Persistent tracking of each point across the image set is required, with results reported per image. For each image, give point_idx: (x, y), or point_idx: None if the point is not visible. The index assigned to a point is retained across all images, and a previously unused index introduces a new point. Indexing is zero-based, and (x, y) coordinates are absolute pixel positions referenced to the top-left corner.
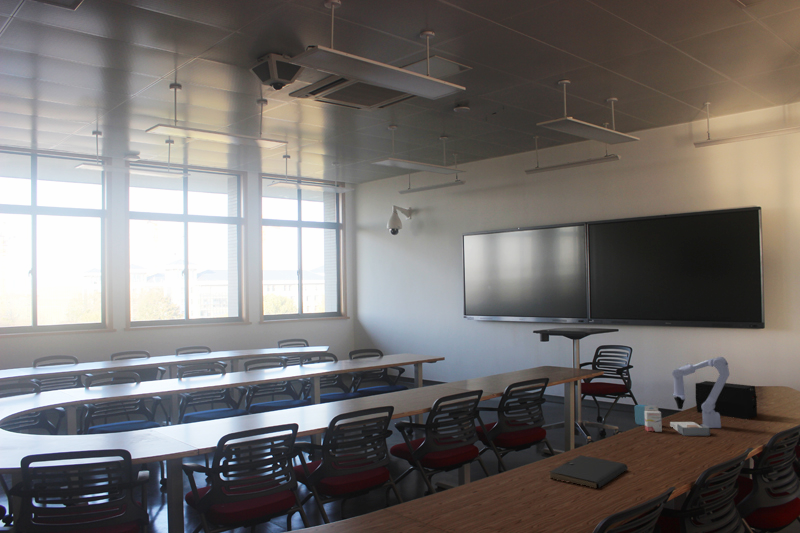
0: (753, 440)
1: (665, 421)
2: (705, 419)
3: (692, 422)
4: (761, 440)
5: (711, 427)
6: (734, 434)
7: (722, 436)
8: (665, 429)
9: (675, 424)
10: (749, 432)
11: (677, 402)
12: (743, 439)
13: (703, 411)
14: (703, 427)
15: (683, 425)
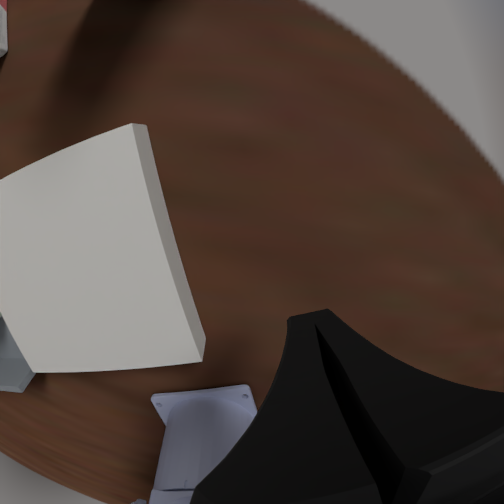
0: (24, 458)
1: (368, 103)
2: (166, 446)
3: (170, 349)
4: (40, 473)
5: (165, 423)
6: (73, 453)
7: (9, 401)
8: (17, 94)
9: (33, 181)
10: (142, 496)
11: (274, 408)
12: (16, 442)
13: (151, 498)
14: (19, 373)
15: (21, 252)
